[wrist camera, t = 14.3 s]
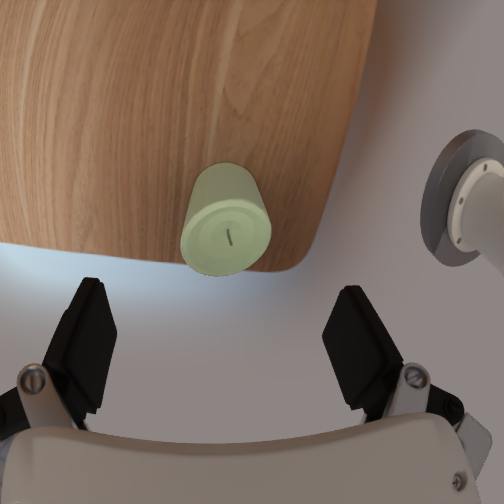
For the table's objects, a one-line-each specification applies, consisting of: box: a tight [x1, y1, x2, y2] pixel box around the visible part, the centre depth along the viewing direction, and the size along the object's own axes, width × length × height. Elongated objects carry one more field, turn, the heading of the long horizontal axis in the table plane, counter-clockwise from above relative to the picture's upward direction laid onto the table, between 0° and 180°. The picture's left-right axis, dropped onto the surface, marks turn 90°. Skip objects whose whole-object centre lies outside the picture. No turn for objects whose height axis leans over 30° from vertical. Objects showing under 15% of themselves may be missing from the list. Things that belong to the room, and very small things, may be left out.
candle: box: [180, 163, 271, 276], centre depth 18 cm, size 5×5×8 cm
